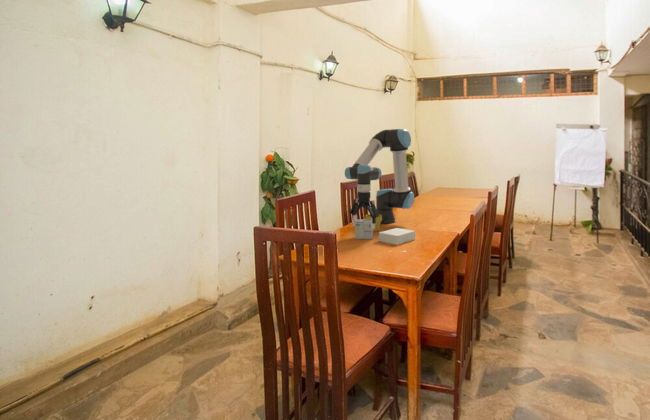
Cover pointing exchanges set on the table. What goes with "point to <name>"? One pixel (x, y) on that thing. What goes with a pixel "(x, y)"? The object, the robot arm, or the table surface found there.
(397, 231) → the grey plinth
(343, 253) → the table surface
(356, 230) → the light bulb box
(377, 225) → the plant pot
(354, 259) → the table surface
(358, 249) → the table surface
